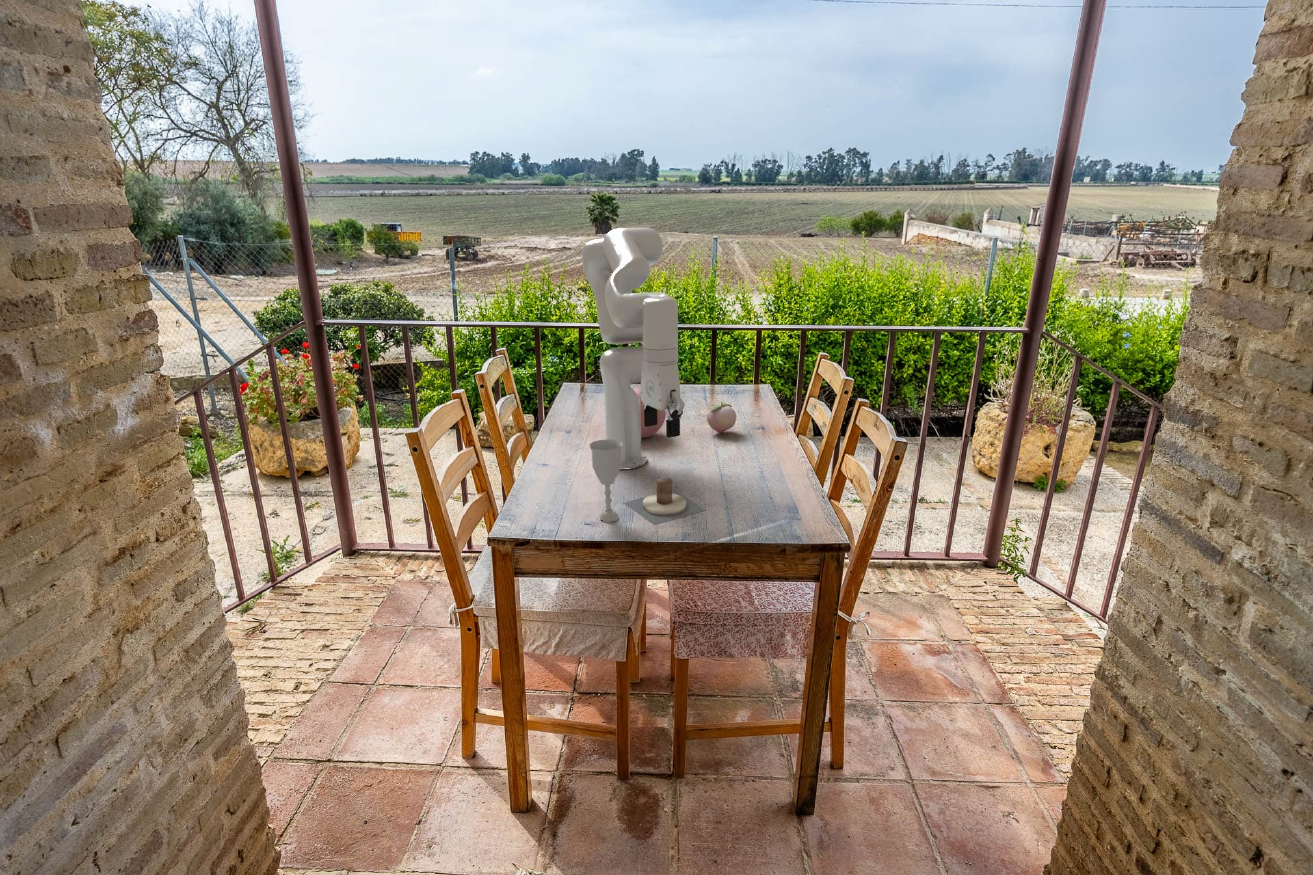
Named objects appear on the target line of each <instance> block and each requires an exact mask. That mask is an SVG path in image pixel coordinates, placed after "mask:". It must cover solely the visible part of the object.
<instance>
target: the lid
mask: <svg viewBox="0 0 1313 875" xmlns="http://www.w3.org/2000/svg"><path fill="white" fill-rule="evenodd" d="M655 482H656V493H654V494H650V495H648V496H645V497H646V498H645V499H644V500H643V508H644V510H645V511H647V512H648V513H651V514H655V515H674V514H678V513H680V512H682V511H684V510H685V508H686V500H685V498H683V497H682V496H680V495H677V494H672V490H673V479H671V478H668V477H660V478H658V479H656V481H655Z"/></svg>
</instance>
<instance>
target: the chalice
mask: <svg viewBox="0 0 1313 875" xmlns="http://www.w3.org/2000/svg"><path fill="white" fill-rule="evenodd" d="M622 445H623V444H622V442H620V441H617V440H606V439H600V440H599V439H598V440H595V441H591V442H590V443H589V445H588V447H589V448H590V450H591V462H592V464H591V465H592V468H593V471H594V474H595V475H596V478H597V480H598V481H599V483H600V484H601V485H604V486H605V490H604V492H603V494H604V496H605V499H604V500H603V501H604V502H605V508H604V509H602V510H601V511H600V513H599V516H598V519H599V518H600V520H603V521H606V522H605V523H613V522H612V521H614V522H616V521H618V520H619V518H618V517H619V514H618V512H617V511H616V510H615V509H614V508H612V506H611V503H612V501H613V499H612V498H611V494H612V491H611V488H610V487H611V485H614V484H615V481H616V479H617V477H618V475H619V472H620V470H621V469H620V467H621V447H622ZM600 520H599V521H600ZM615 520H616V521H615Z"/></svg>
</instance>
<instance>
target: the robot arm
mask: <svg viewBox="0 0 1313 875" xmlns="http://www.w3.org/2000/svg"><path fill="white" fill-rule="evenodd" d="M663 246H664V244H663V240H662V237H661V236H660V233H659V232H658V231H657V230H656V229H655V228H652V227H647V226H646V227H620V228H619V227H618V228H614V229H611V230H610V231H609V232H607V233H606V234H605V236H604V238H598V239H597V238H596V239H592V240H590V241H588V242H586V243H585V244H584V245H583V247H582V252H581V260H582V268H583V271H584V275H585V277H586V280H587V282H588V284H589V286H590V288H591V291H592V293H593V296H594V300H595V306H596V313H597V318H598V319H597V320H598V325H599V331H600V335H601V339H602V340H603V342H605V343H607V344H610V345H622V344H623V345H625V344H638V343H640V344H641V346H640V345H639V346H638V345H637V346H623V347H613V348H610V349H607V350H605V351H604V352H603V353H602V354H601V356H600V358H599V368H600V375H601V379H602V384H603V394H604V395H603V396H604V417H605V437H606V438H605V440H617V441H620V442H622V444H623V445H622V447H621V467H620V468H633V469H636V468H635V467H638V466H641V467H643V466H645V465H646V464H647V463H646V462H648V456H647V454H645V453H644V452H642V438H641V405H640V398H639V396H638V394H637V393H636V392H635V391H634V390H633V389H632V388H633V387H632V386H631V385H632V384H640V386H639V387H640V391H641V401H642V402H643V409H645V410H644V426H646V427H648V426H654V425H657V424H658V420H657V410H660V411H661V410H665V412H666V418H667V419H665V431H666V433H665V434H666V438H668V439H670V438H674V437H675V438H676V437H680V435H681V419H682V415H683V413H684V408H685V405H686V404H685V402H684V400H683V399H682V398H681V383H680V371H679V365H678V362H679V331H678V330H679V329H678V328H679V322H678V321H679V319H678V318H679V317H678V316H679V309H678V306H679V305H678V301H677V300H676V299H675V298H674V297H671V296H670V294H668V293H667V292H663V291H656V292H654V291H653V292H632V291H635V290H636V289H638V288H640V287H641V286H643V285H644V284H645V283H646V282H647V280H648V279H649V277H650V273H651V267H652V266H654V265H655V264H657V263H658V262H659V261H660V260H661V258H662V255H663V250H664V249H663V248H664V247H663ZM611 272H612V273H611ZM630 292H631V293H630ZM671 410H672V412H671ZM645 463H646V464H645ZM642 465H643V466H642ZM638 468H639V467H638Z"/></svg>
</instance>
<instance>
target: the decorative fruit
mask: <svg viewBox="0 0 1313 875" xmlns="http://www.w3.org/2000/svg"><path fill="white" fill-rule="evenodd" d="M706 421H707V423H708V424H707V425H709V427H710V428H711V429H712V430H714V431H715V432H717V433H718V434H723V433H724V432H726V431H728V430H731V429H732V428H734V426H735V425H736V421H737V412H736V411H735V409H734V408H733V407H732V405H731V404H729V403H723V402H722V401H721V404H718V405H714V406H713V407H712V408H710V410H709V411H708V412H707V415H706Z"/></svg>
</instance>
